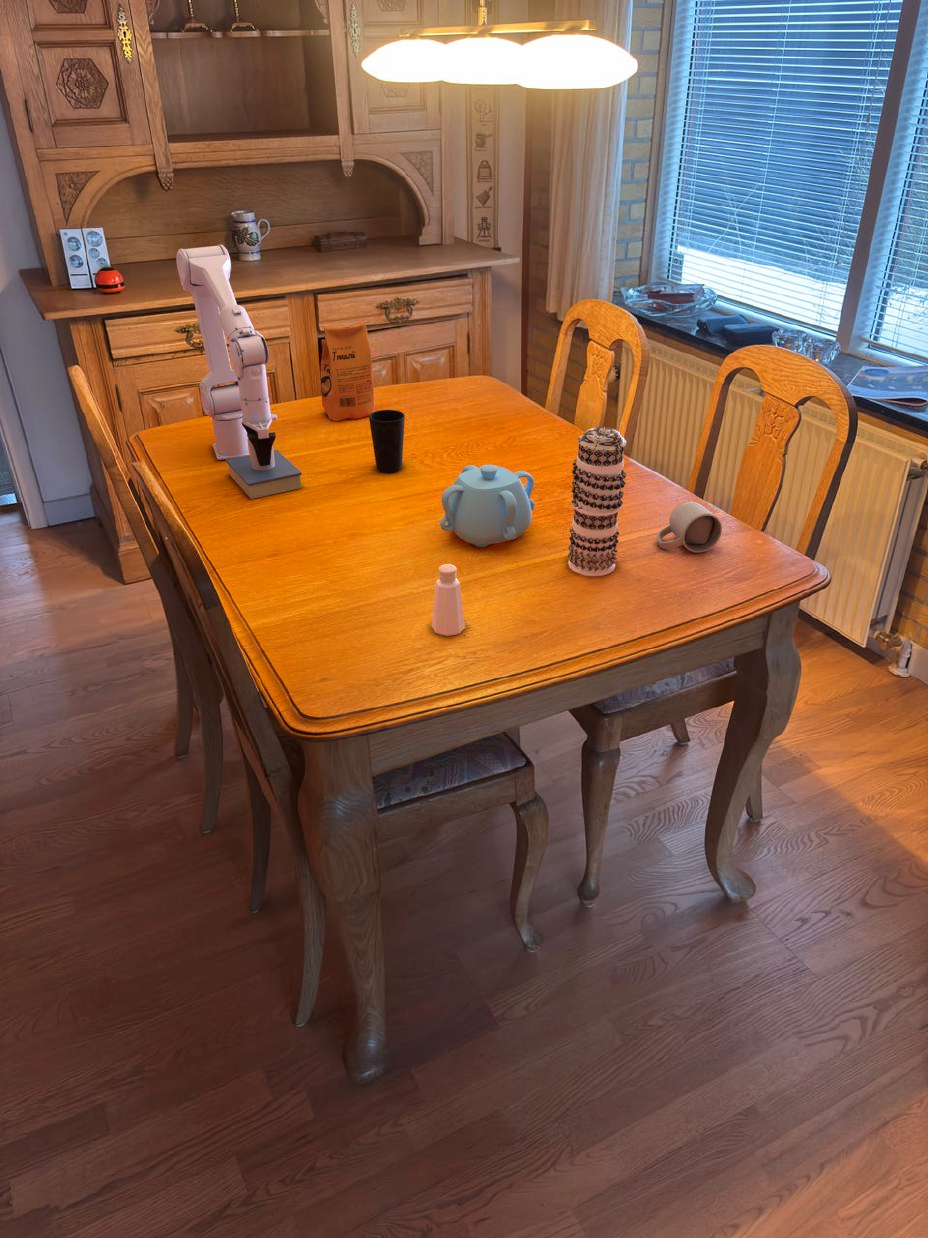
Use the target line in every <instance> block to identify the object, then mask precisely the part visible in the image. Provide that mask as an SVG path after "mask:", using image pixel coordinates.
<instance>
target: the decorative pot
mask: <svg viewBox="0 0 928 1238" xmlns="http://www.w3.org/2000/svg"><path fill="white" fill-rule="evenodd" d="M521 478H526V485H525V486H524V485H523V483H522V481H521ZM534 485H535V480H534V476H532V474H530V473H529V472H528V471H523V470H518V471H516V472H515V471H514V472H513V471H511V470H510V469H508V468H506V467H503V466H498V465H494V464H483V465H481V466H480V467H477V466H476V465H472V464H471V465H470V464H469V465H466V466H464V467H463V468H462V470H461V473H460V474H459V475H457V477H456V479H455V481H454V482H453V484H452V485H451V486H448V487H447V488H446V489H445V490H443V492H442V494H441V505H442V508H443V511H444V517H442V518H441V519H440V521H439V527H440V529H441V530H442V531H446V532H451V531H452V532H453V533H454V534H455V535H456V536H457V537H459V538H460V539H461V540H463V541H465V542H466V543H468V544H472V545H474V546H475V547H477V548H485V547H488V545H492V544H493V545H495V544H500V543H504V542H509V541H513V540H516V539H518V538H519V537H520V536H522V535H523V534H524V533H525V532H526V531H527V530H528V529H529V527H530V526H531V523H532V521H533V514H532V513H533V511H534V509H535V507H536V505H535V504H536V503H535V502H534V500H533V499H532V498H531V495H532V494H533V493H532V492H533V489H534ZM446 523H447V524H446Z"/></svg>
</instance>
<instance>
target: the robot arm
mask: <svg viewBox="0 0 928 1238" xmlns="http://www.w3.org/2000/svg"><path fill="white" fill-rule="evenodd" d="M175 259H176V261H175V262H176V268H177V272H178V276H179V281H180V285H181V287H182V290H183V291H184V292H187V293H190V294H191V297H192V300H193V303H194V307H195V312H196V316H197V322H198V326H199V331H200V335H201V339H202V344H203V349H204V354H205V357H206V362H207V367H208V372H207V374H206V375H205V376H204V377H203V378H202V379H201V381H199V390H200V391H199V392H200V403H201V406H202V410H203V411H204V412H203V413H204V414H205V415H206V416H207V417H209V418H211V421H212V426H213V433H214V435H213V436H214V440H215V443H213V444H212V448H213V451H214V453H215V456H216V459H217V461H222V460H227V459H233V458H238V457H243V456H248V455H249V448H248V441H247V440H248V439H249V440H250V442H251V443H252V445H253V447H254V450H255V453H256V456H257V460H258V463H259V465H260V466H267V465H270V462H271V451H272V446H273V447H274V442H275V440H276V438H277V434H276V432H269V428H270V427H271V425H272V422H273V421H277V420H278V416H277V414H276V413H271V404H270V396H269V387H268V380H267V379H268V378H267V369H266V365H267V364H268V363H269V359H270V353H269V347H268V344H267V341H266V339H265V337H264V335H263V334H262V333H260V332H259V330H255V328H254V326H253V323H252V321H251V319H250V316H249V315H248V313H247V310H246V309H245V307H244V306H242V305H240V304H237V301H236V297H235V295H234V291H233V288H232V286H231V283H230V278H231V270H232V262H231V257H230V254H229V251H228V249H227V248H226V247H225V246H224V245H223V244H217V245H211V246H202V247H201V246H200V247H192V248H178V250H177V253H176V258H175ZM227 341H228V345H229V347H228V346H227ZM228 349H229V351H228ZM229 355H230V356H229ZM230 360H231V361H230ZM231 363H232V365H231ZM232 366H233V368H232ZM229 383H230V384H229ZM217 385H218V386H217Z"/></svg>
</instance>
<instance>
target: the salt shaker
mask: <svg viewBox="0 0 928 1238" xmlns="http://www.w3.org/2000/svg"><path fill="white" fill-rule="evenodd" d="M438 577H439V578H438V579H437V580H436V581H435V586H434V596H433V608H432V617H431V628H432V629H433V632H434V633H435V634H436V635H441V636H445V637H451V636H456V635H457V636H458V635H460V634H461V633H462V631H464V629H465V628H466V623H465V614H464V606H463V597H462V589H461V584H460V583H461V582H460V581H459V580H458V578H457V566H455V565H454V564H451V563H444V564H442V565H439V567H438Z"/></svg>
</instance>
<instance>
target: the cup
mask: <svg viewBox="0 0 928 1238" xmlns="http://www.w3.org/2000/svg"><path fill="white" fill-rule="evenodd" d="M405 420H406V415H405V413H404V412H402V411H400V410H395V409H381V410H375V412H373V413H371V414H370V415H369V416H368V421H369V427H370V434H371V439H372V447H373V455H374V461H375V466H376V470H377V471H378V472H380V473H382V474H395V473H398V472H400V471H402V469H403V456H404V454H403V453H404V438H405V422H406V421H405Z"/></svg>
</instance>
